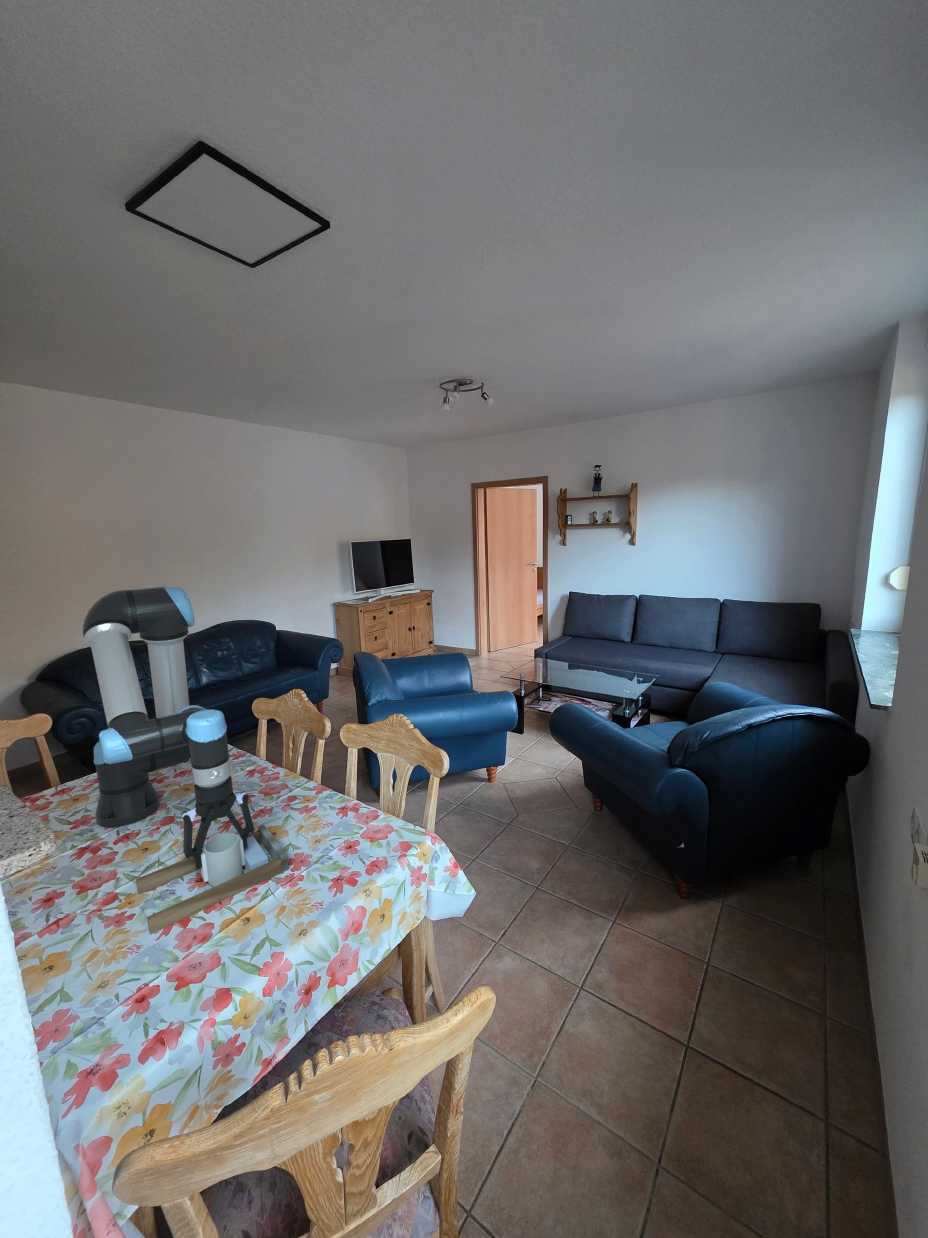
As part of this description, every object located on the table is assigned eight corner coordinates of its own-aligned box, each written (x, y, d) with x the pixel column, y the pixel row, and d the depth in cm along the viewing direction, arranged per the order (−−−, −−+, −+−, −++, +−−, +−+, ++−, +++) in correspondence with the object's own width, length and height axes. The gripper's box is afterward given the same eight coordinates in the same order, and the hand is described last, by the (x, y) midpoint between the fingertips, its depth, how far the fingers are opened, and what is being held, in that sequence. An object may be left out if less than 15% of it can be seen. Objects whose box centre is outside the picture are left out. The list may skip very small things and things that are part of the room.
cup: (209, 893, 107) (204, 857, 106) (206, 866, 116) (202, 833, 114) (244, 881, 111) (240, 846, 109) (239, 856, 119) (236, 823, 118)
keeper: (237, 857, 120) (236, 842, 119) (254, 850, 122) (253, 836, 122) (251, 881, 112) (250, 865, 111) (269, 873, 114) (267, 858, 113)
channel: (137, 891, 109) (135, 875, 108) (264, 838, 127) (263, 824, 126) (150, 934, 97) (147, 917, 96) (288, 869, 115) (287, 854, 114)
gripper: (164, 803, 99) (178, 901, 104) (264, 770, 112) (273, 858, 117) (157, 789, 105) (171, 882, 109) (253, 759, 118) (262, 844, 122)
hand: (223, 870), depth 113 cm, fingers closed on cup, 7 cm apart
